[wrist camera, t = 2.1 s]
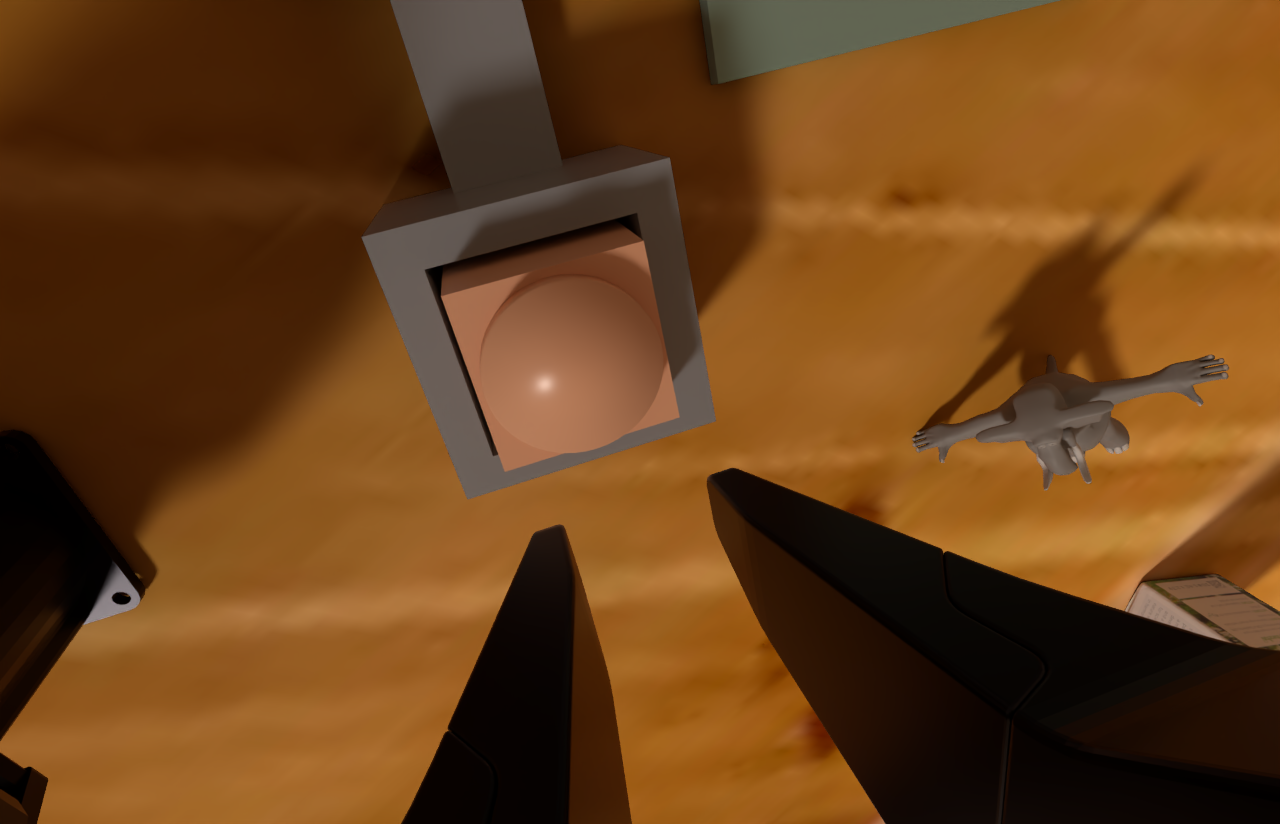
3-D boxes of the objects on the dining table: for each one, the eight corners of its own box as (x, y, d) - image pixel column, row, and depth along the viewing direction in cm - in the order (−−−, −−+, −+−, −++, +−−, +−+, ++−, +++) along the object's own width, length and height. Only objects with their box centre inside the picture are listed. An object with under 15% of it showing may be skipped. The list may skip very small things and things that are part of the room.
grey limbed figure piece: (984, 527, 31) (901, 509, 24) (955, 406, 33) (872, 360, 26) (1271, 482, 24) (1259, 442, 18) (1214, 335, 26) (1184, 252, 20)
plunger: (631, 350, 21) (687, 428, 16) (493, 390, 20) (506, 485, 15) (598, 207, 18) (651, 246, 14) (444, 248, 18) (440, 304, 13)
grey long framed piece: (684, 353, 23) (739, 413, 18) (443, 425, 22) (441, 507, 17) (489, -670, 13) (509, -1078, 8) (22, -631, 12) (-242, -1077, 7)
